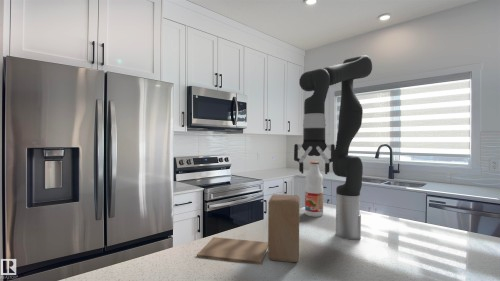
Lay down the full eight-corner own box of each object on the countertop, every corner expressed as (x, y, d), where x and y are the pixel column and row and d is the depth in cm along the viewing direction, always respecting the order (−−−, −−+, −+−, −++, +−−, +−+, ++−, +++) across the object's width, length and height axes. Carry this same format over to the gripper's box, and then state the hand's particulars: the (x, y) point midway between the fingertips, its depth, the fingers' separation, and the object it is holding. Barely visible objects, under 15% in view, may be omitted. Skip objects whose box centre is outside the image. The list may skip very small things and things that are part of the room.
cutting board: (268, 244, 98) (268, 242, 98) (261, 264, 83) (261, 261, 83) (213, 239, 103) (213, 237, 103) (196, 256, 88) (196, 254, 88)
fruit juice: (326, 216, 135) (326, 162, 135) (309, 217, 133) (309, 162, 133) (318, 211, 144) (318, 160, 144) (302, 212, 142) (302, 161, 142)
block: (298, 263, 83) (299, 201, 83) (267, 260, 85) (268, 199, 85) (299, 250, 93) (299, 194, 93) (271, 248, 95) (271, 193, 95)
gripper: (334, 127, 94) (334, 172, 94) (294, 127, 97) (294, 171, 97) (336, 126, 86) (336, 175, 87) (292, 126, 90) (292, 174, 90)
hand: (314, 173), depth 92 cm, fingers open, 7 cm apart
